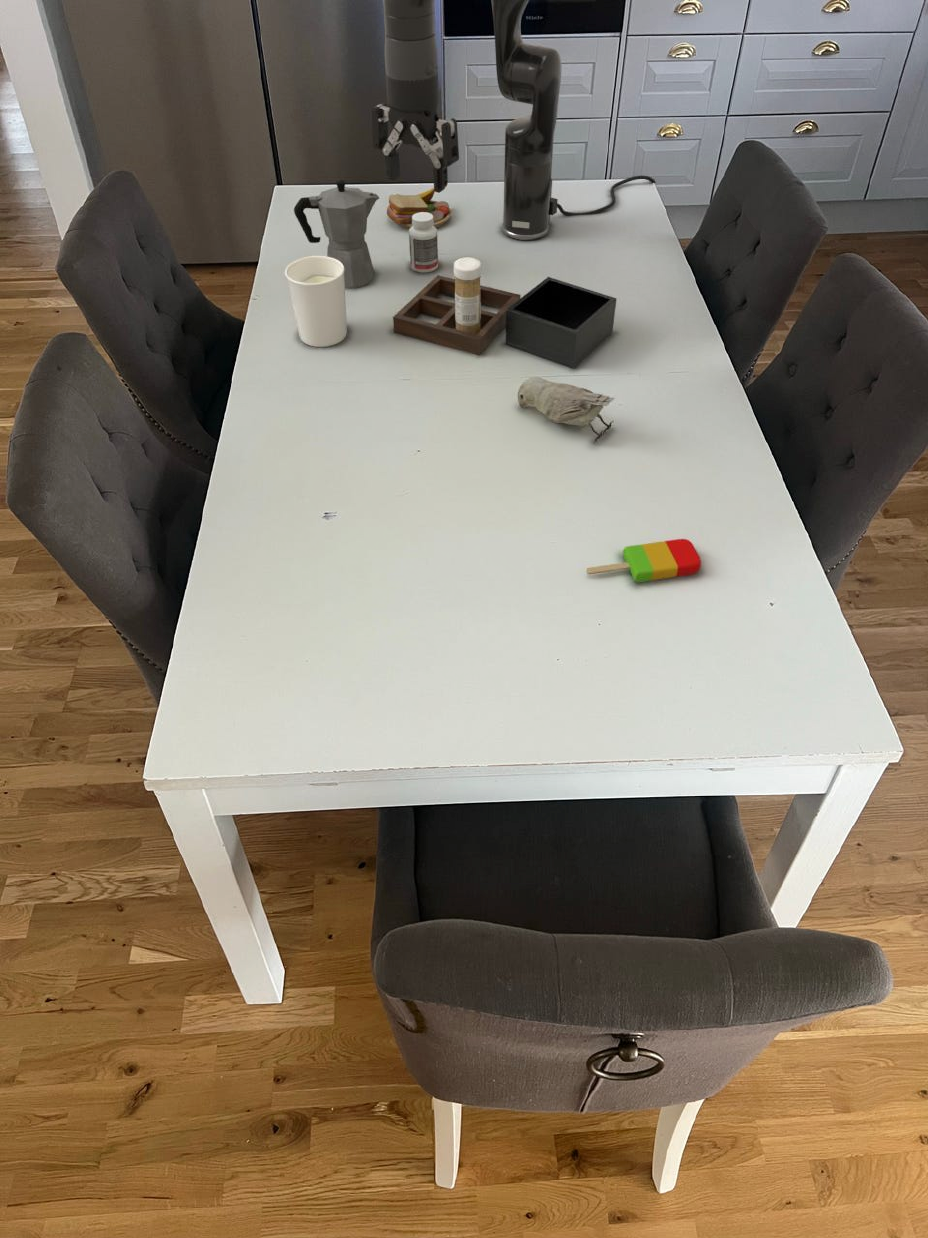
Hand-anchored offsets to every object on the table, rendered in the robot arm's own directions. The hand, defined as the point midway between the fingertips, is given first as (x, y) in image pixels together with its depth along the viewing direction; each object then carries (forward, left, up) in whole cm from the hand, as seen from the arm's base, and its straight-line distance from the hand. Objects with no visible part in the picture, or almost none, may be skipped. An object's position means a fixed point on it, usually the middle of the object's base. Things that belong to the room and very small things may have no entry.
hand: (416, 184), depth 144 cm
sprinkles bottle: (-3, +8, -25) cm, 26 cm away
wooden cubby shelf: (-6, +3, -25) cm, 26 cm away
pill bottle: (-19, -14, -25) cm, 34 cm away
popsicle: (+32, +59, -25) cm, 72 cm away
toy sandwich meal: (-35, -27, -25) cm, 51 cm away
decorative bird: (+10, +34, -25) cm, 44 cm away
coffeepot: (-7, -24, -25) cm, 35 cm away
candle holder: (+11, -14, -25) cm, 31 cm away
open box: (-11, +21, -25) cm, 35 cm away
